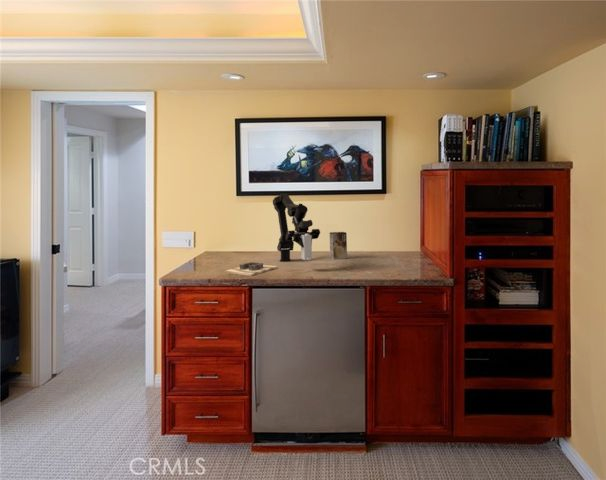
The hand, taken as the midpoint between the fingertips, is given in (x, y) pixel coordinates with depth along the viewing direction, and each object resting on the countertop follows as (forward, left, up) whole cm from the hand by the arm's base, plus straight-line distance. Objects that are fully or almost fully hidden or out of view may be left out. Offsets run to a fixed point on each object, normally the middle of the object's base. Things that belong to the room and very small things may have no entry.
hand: (307, 246), depth 255 cm
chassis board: (-2, -31, -13) cm, 34 cm away
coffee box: (-40, +16, -13) cm, 45 cm away
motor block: (-1, -1, -7) cm, 7 cm away
